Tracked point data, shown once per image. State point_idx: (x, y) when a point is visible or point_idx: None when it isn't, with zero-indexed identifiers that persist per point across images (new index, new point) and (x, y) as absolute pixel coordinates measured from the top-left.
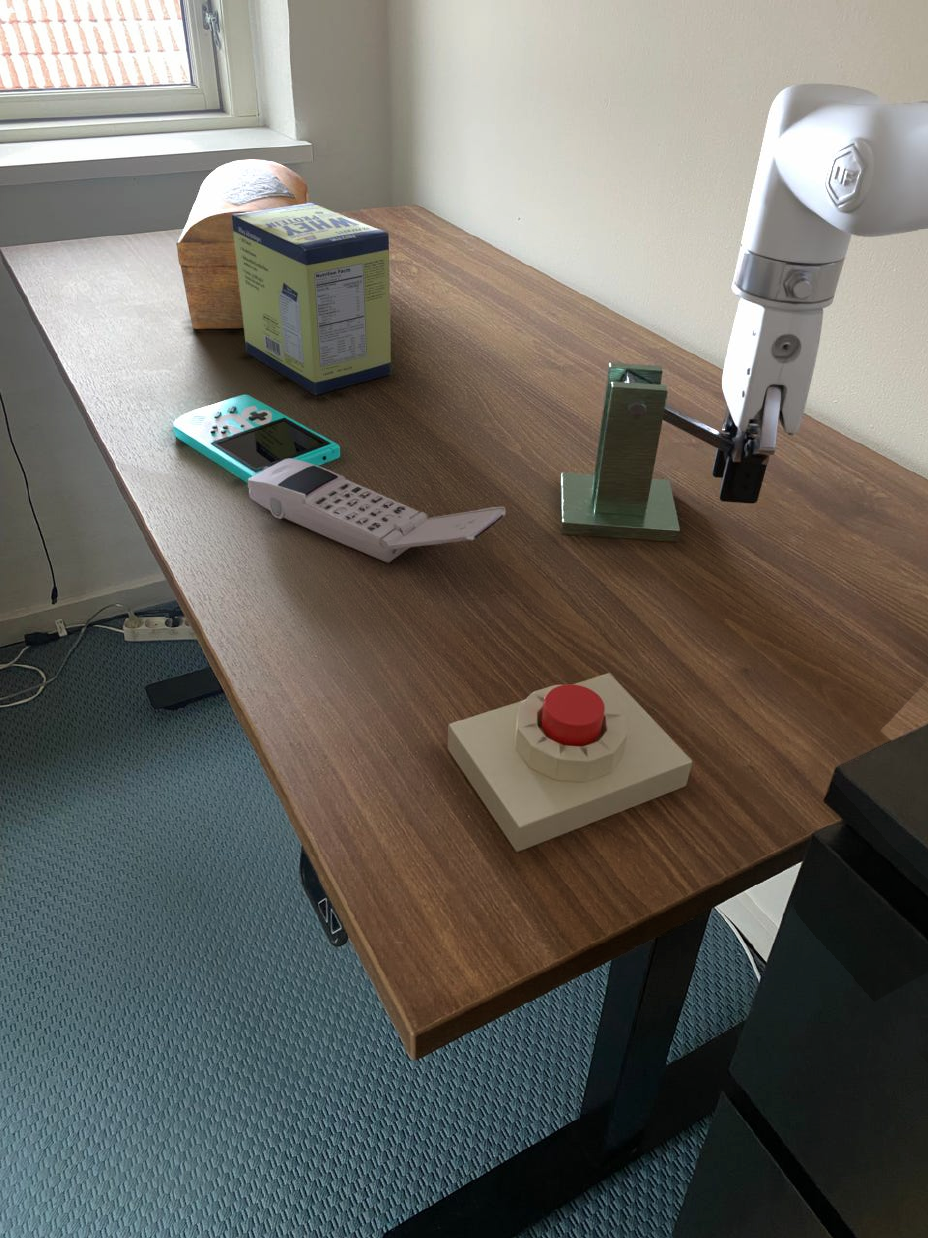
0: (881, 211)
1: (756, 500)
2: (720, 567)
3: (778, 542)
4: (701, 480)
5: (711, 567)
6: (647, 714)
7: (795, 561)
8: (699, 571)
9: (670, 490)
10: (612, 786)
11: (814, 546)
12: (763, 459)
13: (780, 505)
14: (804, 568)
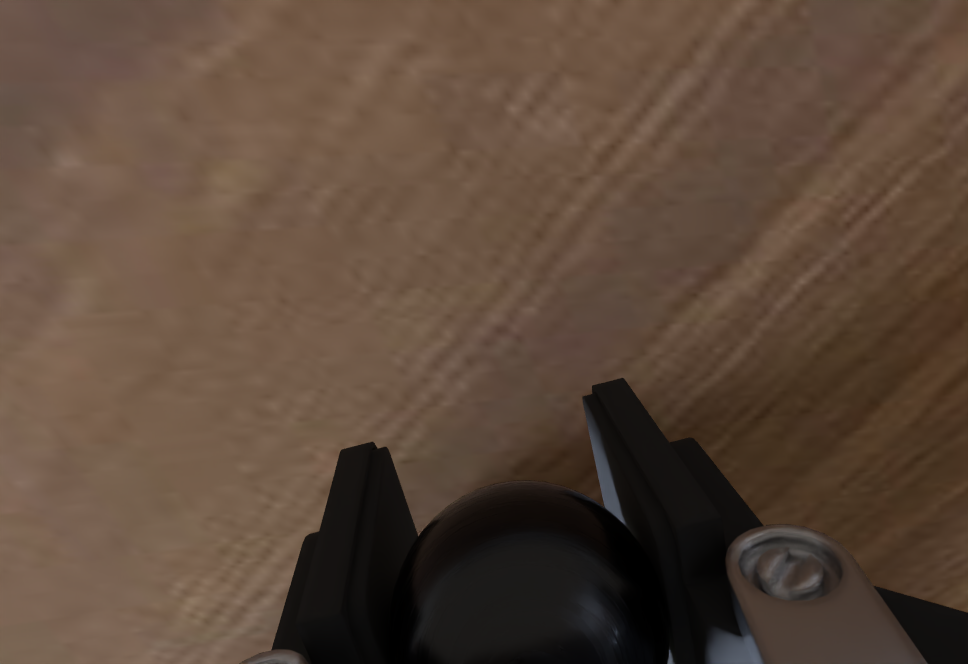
0: None
1: (625, 382)
2: (835, 382)
3: (599, 189)
4: (203, 525)
5: (840, 409)
6: None
7: (735, 109)
8: (871, 441)
9: None
10: None
11: (584, 22)
12: (951, 616)
13: (258, 198)
14: (782, 67)
